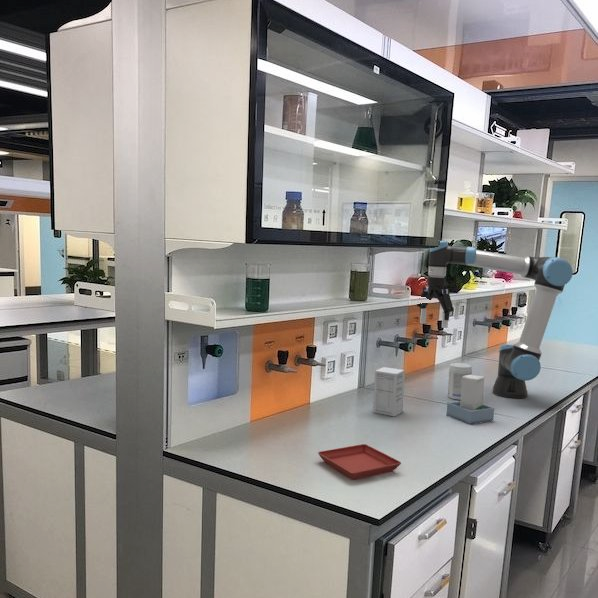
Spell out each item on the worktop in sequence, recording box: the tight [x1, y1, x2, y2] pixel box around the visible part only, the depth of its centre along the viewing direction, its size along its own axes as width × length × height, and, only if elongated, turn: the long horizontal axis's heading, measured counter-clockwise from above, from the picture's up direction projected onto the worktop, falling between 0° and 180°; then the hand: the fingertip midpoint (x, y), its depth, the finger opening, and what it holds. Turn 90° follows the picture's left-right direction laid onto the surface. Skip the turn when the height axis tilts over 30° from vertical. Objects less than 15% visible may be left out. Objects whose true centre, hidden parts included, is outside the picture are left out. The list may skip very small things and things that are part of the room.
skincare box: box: [459, 374, 485, 411], centre depth 225 cm, size 8×7×16 cm
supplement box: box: [372, 366, 406, 417], centre depth 228 cm, size 10×9×17 cm
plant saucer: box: [317, 443, 402, 480], centre depth 171 cm, size 18×18×3 cm
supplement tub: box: [447, 362, 473, 401], centre depth 255 cm, size 10×10×15 cm
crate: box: [446, 400, 495, 425], centre depth 225 cm, size 12×12×5 cm
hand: (433, 325), depth 252 cm, fingers open, 13 cm apart
